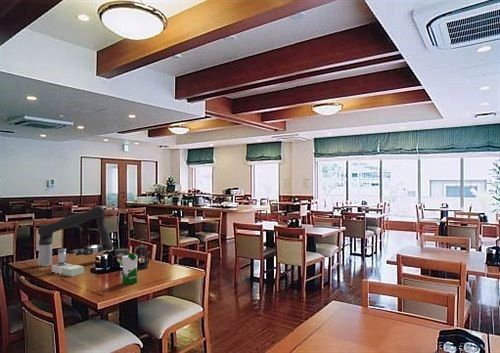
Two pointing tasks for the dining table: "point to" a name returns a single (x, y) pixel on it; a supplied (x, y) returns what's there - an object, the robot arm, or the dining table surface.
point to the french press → (141, 265)
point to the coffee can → (121, 254)
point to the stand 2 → (73, 270)
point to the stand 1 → (59, 268)
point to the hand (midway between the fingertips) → (72, 253)
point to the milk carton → (129, 268)
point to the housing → (62, 257)
